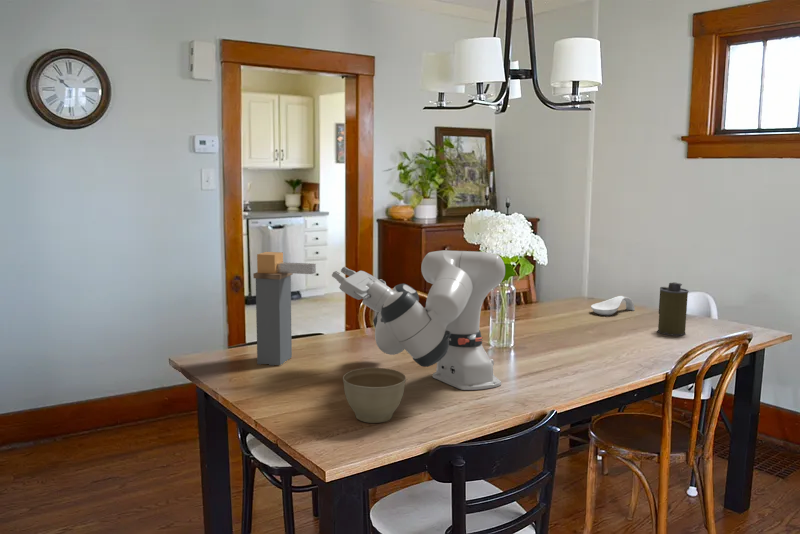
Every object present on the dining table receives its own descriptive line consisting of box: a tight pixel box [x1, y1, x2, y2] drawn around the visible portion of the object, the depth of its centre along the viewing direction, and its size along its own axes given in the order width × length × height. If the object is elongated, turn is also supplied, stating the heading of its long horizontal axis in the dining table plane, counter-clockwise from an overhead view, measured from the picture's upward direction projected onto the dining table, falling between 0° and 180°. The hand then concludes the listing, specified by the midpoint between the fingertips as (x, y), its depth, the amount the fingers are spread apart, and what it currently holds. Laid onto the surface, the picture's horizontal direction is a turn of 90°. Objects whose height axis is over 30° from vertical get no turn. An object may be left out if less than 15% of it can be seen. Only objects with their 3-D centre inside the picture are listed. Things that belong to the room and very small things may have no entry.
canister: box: [657, 282, 689, 337], centre depth 274 cm, size 11×10×20 cm
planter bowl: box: [342, 367, 407, 424], centre depth 178 cm, size 16×16×11 cm
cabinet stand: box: [252, 272, 294, 366], centre depth 227 cm, size 9×11×30 cm
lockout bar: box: [256, 251, 317, 275], centre depth 224 cm, size 18×7×6 cm, turn 77°
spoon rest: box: [590, 295, 635, 316], centre depth 312 cm, size 24×12×7 cm, turn 123°
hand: (337, 270), depth 220 cm, fingers open, 8 cm apart
